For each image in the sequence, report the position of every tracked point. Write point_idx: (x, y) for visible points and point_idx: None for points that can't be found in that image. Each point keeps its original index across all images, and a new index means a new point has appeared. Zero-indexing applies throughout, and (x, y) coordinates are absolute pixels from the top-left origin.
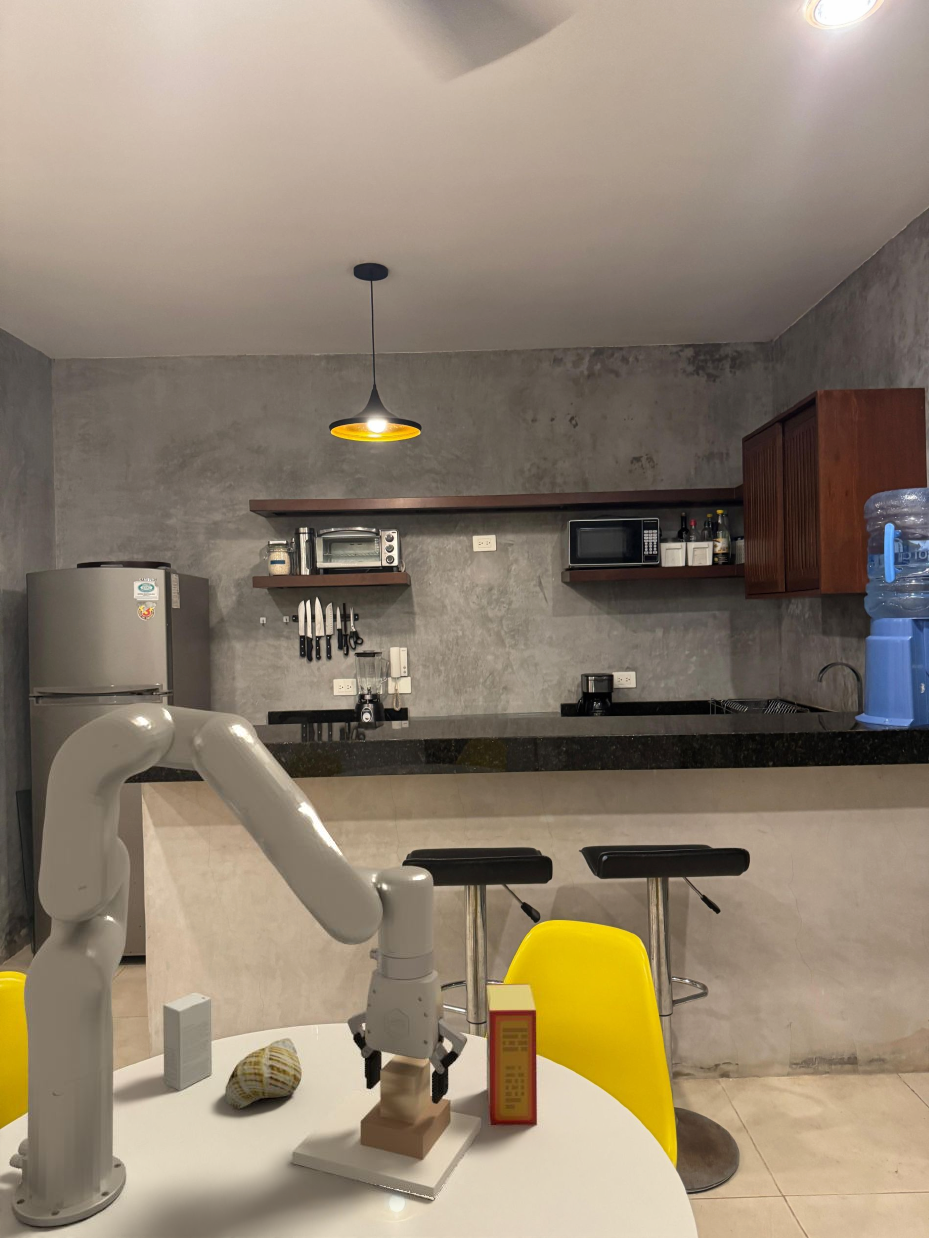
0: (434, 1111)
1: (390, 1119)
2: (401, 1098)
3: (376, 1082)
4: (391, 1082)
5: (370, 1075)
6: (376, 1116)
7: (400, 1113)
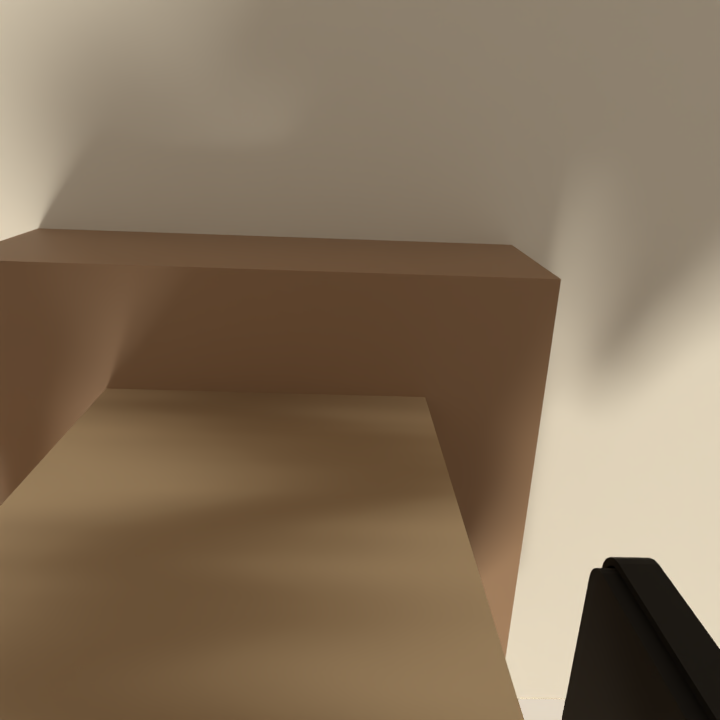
0: None
1: (325, 383)
2: (186, 490)
3: (580, 659)
4: (306, 600)
5: (671, 670)
6: (455, 383)
7: (228, 418)
